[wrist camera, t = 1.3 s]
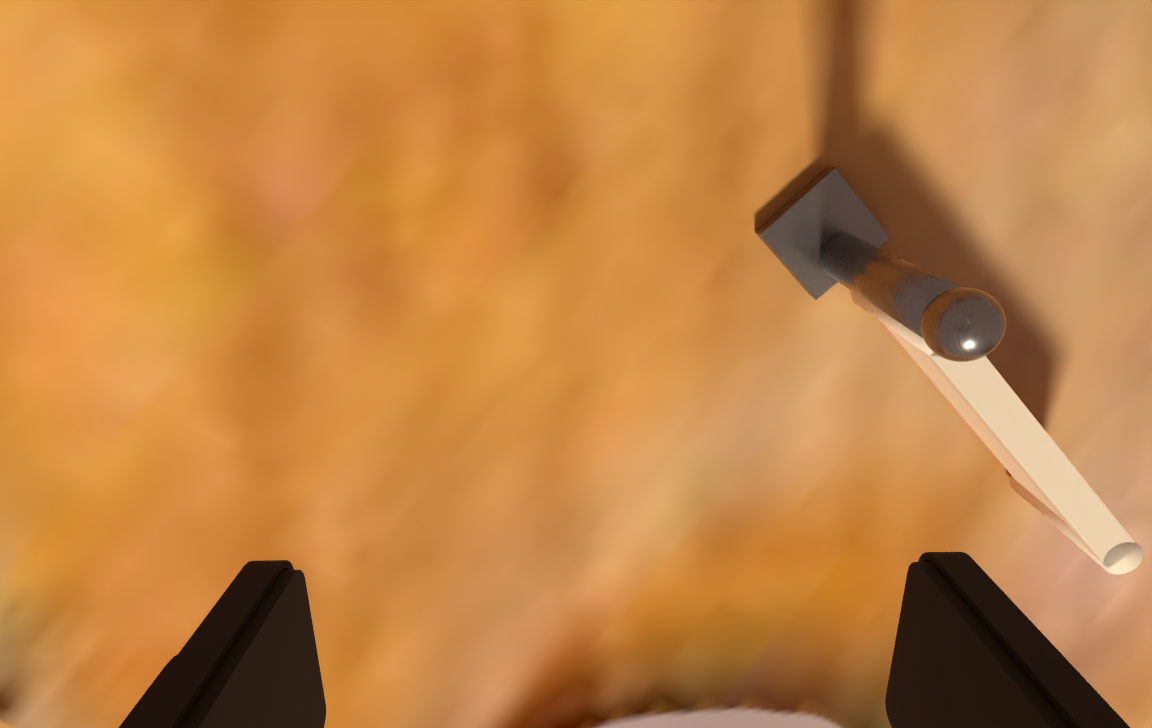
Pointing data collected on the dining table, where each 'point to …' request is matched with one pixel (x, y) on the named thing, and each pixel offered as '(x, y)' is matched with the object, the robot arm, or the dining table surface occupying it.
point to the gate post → (878, 270)
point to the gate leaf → (1022, 449)
